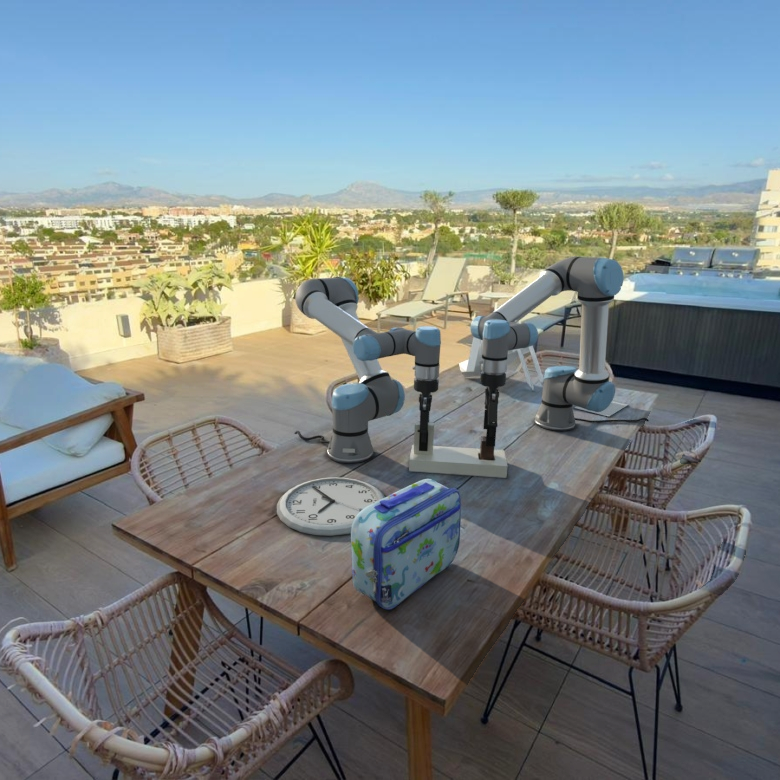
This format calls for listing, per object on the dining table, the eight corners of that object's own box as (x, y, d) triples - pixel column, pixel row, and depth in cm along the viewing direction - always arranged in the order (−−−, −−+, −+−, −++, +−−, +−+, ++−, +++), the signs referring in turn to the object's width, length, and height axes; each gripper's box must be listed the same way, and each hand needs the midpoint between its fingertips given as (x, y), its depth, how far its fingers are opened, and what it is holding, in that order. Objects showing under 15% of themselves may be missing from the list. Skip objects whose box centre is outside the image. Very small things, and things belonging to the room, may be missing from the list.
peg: (491, 465, 168) (493, 436, 165) (492, 471, 165) (494, 441, 162) (479, 464, 169) (481, 436, 166) (479, 470, 165) (481, 440, 162)
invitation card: (608, 416, 214) (573, 407, 224) (608, 416, 214) (573, 408, 224) (628, 404, 229) (594, 396, 238) (628, 405, 229) (594, 397, 238)
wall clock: (392, 527, 129) (268, 531, 127) (391, 533, 130) (269, 537, 127) (383, 473, 158) (282, 475, 155) (383, 478, 158) (282, 480, 156)
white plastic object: (480, 419, 265) (459, 396, 241) (461, 346, 287) (441, 319, 263) (551, 395, 253) (536, 368, 228) (526, 321, 275) (510, 290, 251)
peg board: (503, 461, 172) (506, 421, 168) (506, 477, 160) (510, 435, 156) (412, 455, 175) (413, 416, 171) (409, 471, 164) (410, 429, 159)
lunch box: (380, 623, 100) (381, 528, 94) (344, 596, 108) (343, 505, 101) (464, 565, 118) (470, 482, 112) (428, 545, 125) (432, 466, 119)
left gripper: (416, 370, 168) (413, 437, 175) (412, 384, 153) (409, 457, 160) (439, 371, 167) (436, 439, 174) (437, 385, 152) (434, 459, 159)
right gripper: (479, 361, 169) (475, 422, 176) (482, 383, 146) (478, 453, 152) (502, 361, 168) (498, 423, 175) (510, 384, 145) (504, 454, 151)
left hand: (423, 448), depth 167 cm, fingers closed on peg board, 3 cm apart
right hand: (488, 437), depth 164 cm, fingers open, 13 cm apart
